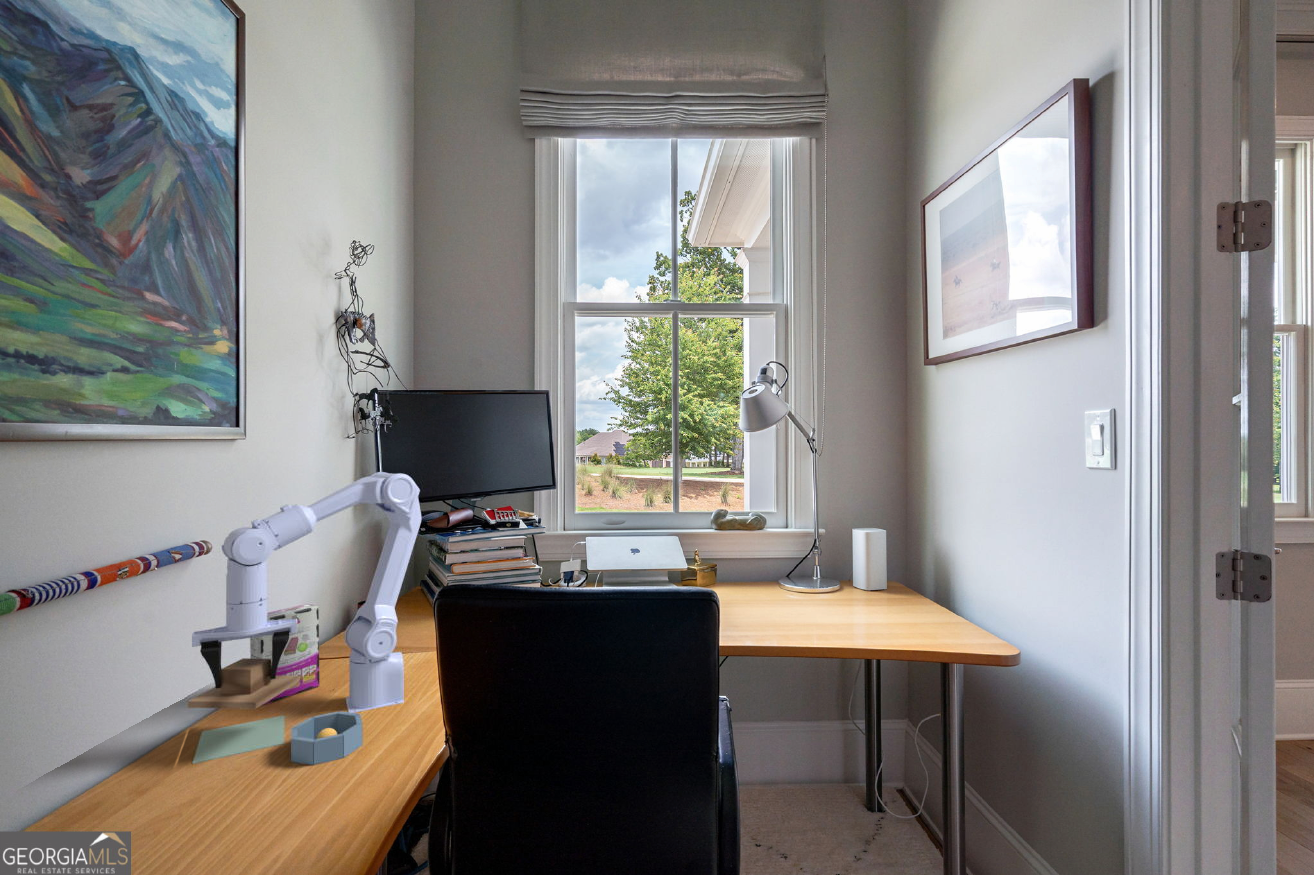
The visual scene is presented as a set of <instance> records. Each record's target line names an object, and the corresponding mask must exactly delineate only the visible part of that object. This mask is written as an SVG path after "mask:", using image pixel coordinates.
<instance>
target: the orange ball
mask: <svg viewBox="0 0 1314 875" xmlns="http://www.w3.org/2000/svg"><path fill="white" fill-rule="evenodd" d="M333 735H337V732H336V731H335V730H334V729H332V728H326V729H323V730H322V731H321V732H320V733H319V734H318V736H317V739H319V738H324V737H328V736H333Z"/></svg>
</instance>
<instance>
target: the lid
mask: <svg viewBox="0 0 1314 875" xmlns="http://www.w3.org/2000/svg"><path fill="white" fill-rule="evenodd" d="M298 682H299V676H277V675H276V679H271V659H251V658H250V657H249V658H247V657H246V658H245V657H244V658H243V657H242V658H241V659H239V660H237V661H235V662H233V663H230V664H229V665H226V666H224V667H221V688H218V689H216V687H215V686H214V687H212V688H211V689H208V690H207V691H205V692H204V693H201V694H200V695H197V696H196V697H193V698H191V699H190V700H188V702H187V708H192V709H193V708H195V709H246V710H248V709H249V710H252V709H253V710H256V709H257V708H260V707H261V706H264V705H263V704H264V703H266V702H267V701H269V700H271V699H272V698H274V697H275V696H277V695H279V694H280V693H282V692H283V691H285V690H287V689H288V688H290V687H291V686H293V685H295V684H296V683H298Z"/></svg>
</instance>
